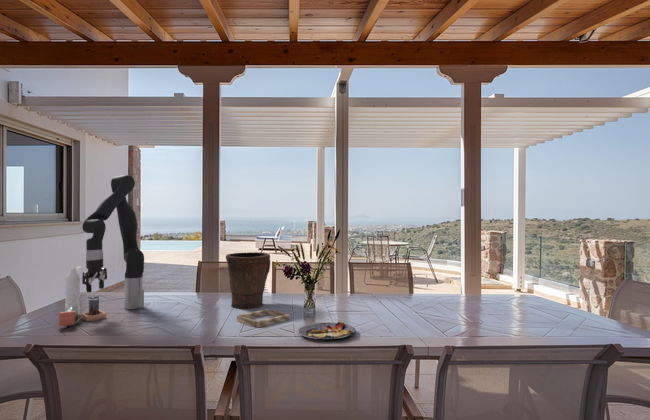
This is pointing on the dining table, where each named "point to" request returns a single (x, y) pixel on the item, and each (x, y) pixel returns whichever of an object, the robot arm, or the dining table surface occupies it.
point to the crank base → (78, 321)
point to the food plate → (327, 330)
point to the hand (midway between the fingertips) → (95, 290)
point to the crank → (68, 316)
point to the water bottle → (73, 289)
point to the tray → (93, 316)
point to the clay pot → (247, 278)
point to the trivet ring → (247, 320)
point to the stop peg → (93, 305)
